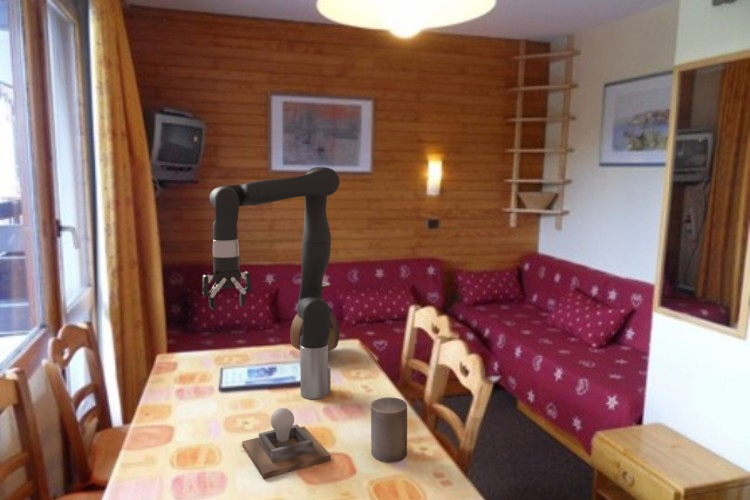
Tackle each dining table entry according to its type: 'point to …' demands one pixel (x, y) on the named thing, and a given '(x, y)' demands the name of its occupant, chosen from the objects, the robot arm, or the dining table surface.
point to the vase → (298, 329)
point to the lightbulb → (282, 425)
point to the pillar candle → (389, 429)
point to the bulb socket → (285, 452)
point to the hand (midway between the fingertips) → (227, 307)
